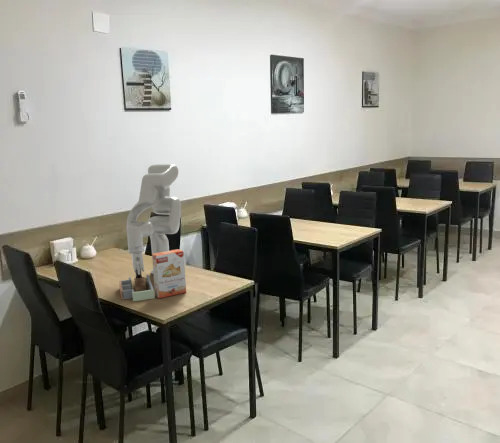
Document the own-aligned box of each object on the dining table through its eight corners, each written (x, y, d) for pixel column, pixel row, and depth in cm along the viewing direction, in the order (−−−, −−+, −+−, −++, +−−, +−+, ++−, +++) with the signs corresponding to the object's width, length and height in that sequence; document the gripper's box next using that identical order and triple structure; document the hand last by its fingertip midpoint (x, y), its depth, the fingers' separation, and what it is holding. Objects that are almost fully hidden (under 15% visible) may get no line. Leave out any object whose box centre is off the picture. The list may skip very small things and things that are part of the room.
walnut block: (145, 286, 246) (144, 277, 245) (145, 289, 241) (145, 279, 241) (135, 287, 245) (134, 278, 244) (135, 290, 240) (134, 281, 239)
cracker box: (159, 299, 226) (155, 255, 222) (155, 295, 231) (151, 253, 227) (187, 292, 233) (183, 250, 229) (182, 289, 238) (178, 248, 234)
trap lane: (148, 282, 253) (148, 274, 252) (154, 298, 228) (154, 289, 227) (119, 286, 249) (118, 278, 248) (122, 302, 224) (121, 294, 223)
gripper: (144, 251, 238) (148, 287, 242) (142, 245, 252) (145, 278, 256) (129, 253, 236) (132, 289, 240) (127, 246, 250) (131, 280, 254)
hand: (139, 283), depth 248 cm, fingers closed
